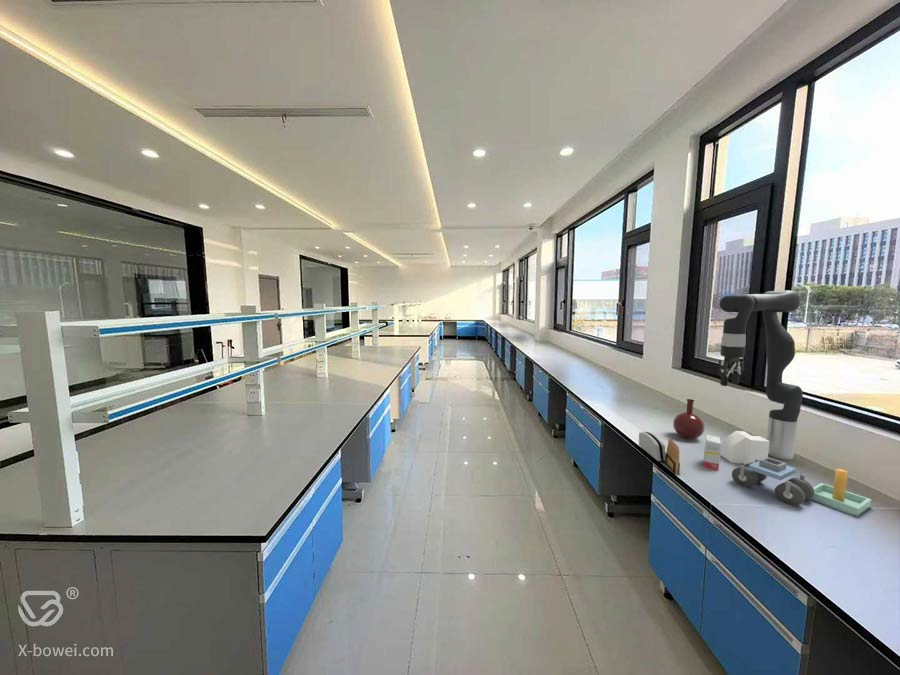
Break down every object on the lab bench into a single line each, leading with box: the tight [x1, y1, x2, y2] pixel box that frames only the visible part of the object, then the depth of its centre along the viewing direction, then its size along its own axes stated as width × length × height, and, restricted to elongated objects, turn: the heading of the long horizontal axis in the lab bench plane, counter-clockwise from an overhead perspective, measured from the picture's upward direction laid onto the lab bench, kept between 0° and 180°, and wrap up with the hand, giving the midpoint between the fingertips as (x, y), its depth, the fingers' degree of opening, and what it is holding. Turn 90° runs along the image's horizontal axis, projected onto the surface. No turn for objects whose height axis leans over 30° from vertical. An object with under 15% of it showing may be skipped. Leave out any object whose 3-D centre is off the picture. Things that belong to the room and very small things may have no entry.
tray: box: [808, 482, 872, 518], centre depth 120 cm, size 12×12×3 cm
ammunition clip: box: [664, 437, 681, 476], centre depth 143 cm, size 11×2×12 cm, turn 165°
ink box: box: [703, 434, 722, 471], centre depth 147 cm, size 9×5×12 cm, turn 145°
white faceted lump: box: [721, 430, 770, 465], centre depth 150 cm, size 11×11×12 cm
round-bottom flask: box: [672, 398, 705, 440], centre depth 176 cm, size 13×13×20 cm
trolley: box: [731, 456, 814, 507], centre depth 126 cm, size 12×20×12 cm, turn 27°
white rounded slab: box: [638, 431, 667, 462], centre depth 157 cm, size 17×5×10 cm, turn 178°
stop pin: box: [832, 468, 849, 503], centre depth 119 cm, size 3×3×11 cm
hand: (729, 384), depth 140 cm, fingers open, 8 cm apart
